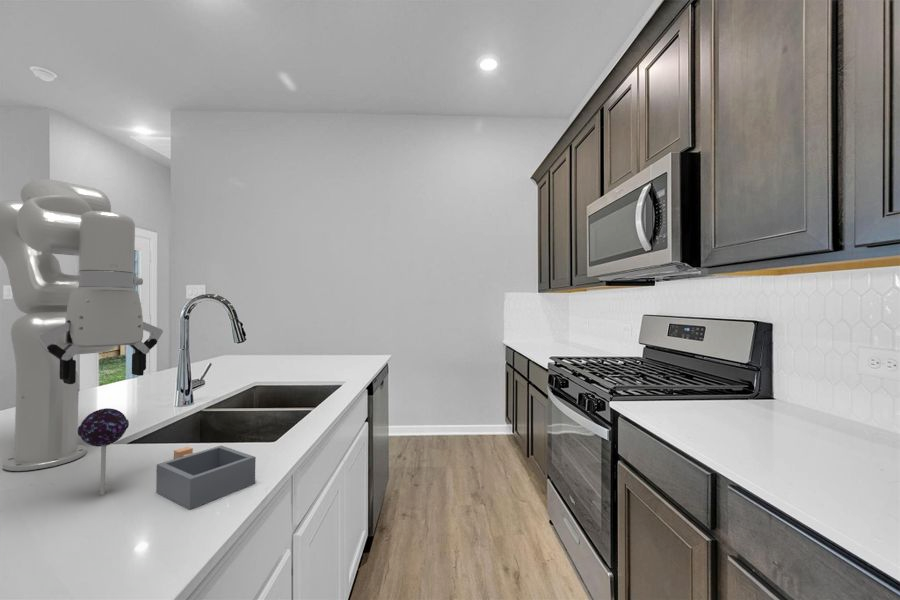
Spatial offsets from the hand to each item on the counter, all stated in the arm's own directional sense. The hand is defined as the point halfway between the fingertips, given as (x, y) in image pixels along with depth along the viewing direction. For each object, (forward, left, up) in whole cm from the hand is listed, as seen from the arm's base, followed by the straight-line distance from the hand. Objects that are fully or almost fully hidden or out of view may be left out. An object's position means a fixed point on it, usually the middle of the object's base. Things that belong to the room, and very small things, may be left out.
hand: (105, 378), depth 71 cm
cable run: (0, +14, -20) cm, 25 cm away
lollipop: (0, 0, -21) cm, 21 cm away
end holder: (+13, +11, -20) cm, 26 cm away
